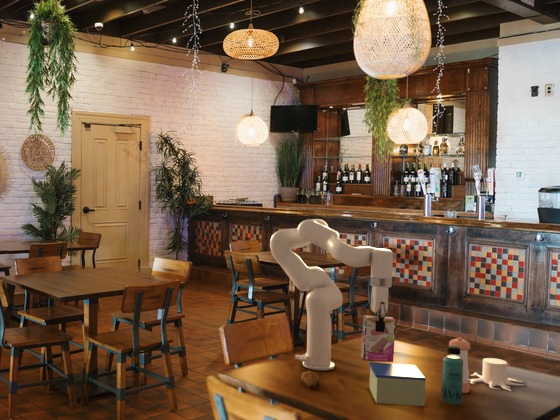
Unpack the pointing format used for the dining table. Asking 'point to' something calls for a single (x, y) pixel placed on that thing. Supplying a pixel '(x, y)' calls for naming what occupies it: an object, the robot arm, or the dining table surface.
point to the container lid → (396, 371)
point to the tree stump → (494, 374)
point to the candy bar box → (378, 340)
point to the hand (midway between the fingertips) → (378, 329)
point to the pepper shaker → (464, 349)
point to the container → (397, 390)
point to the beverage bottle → (452, 377)
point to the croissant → (310, 379)
